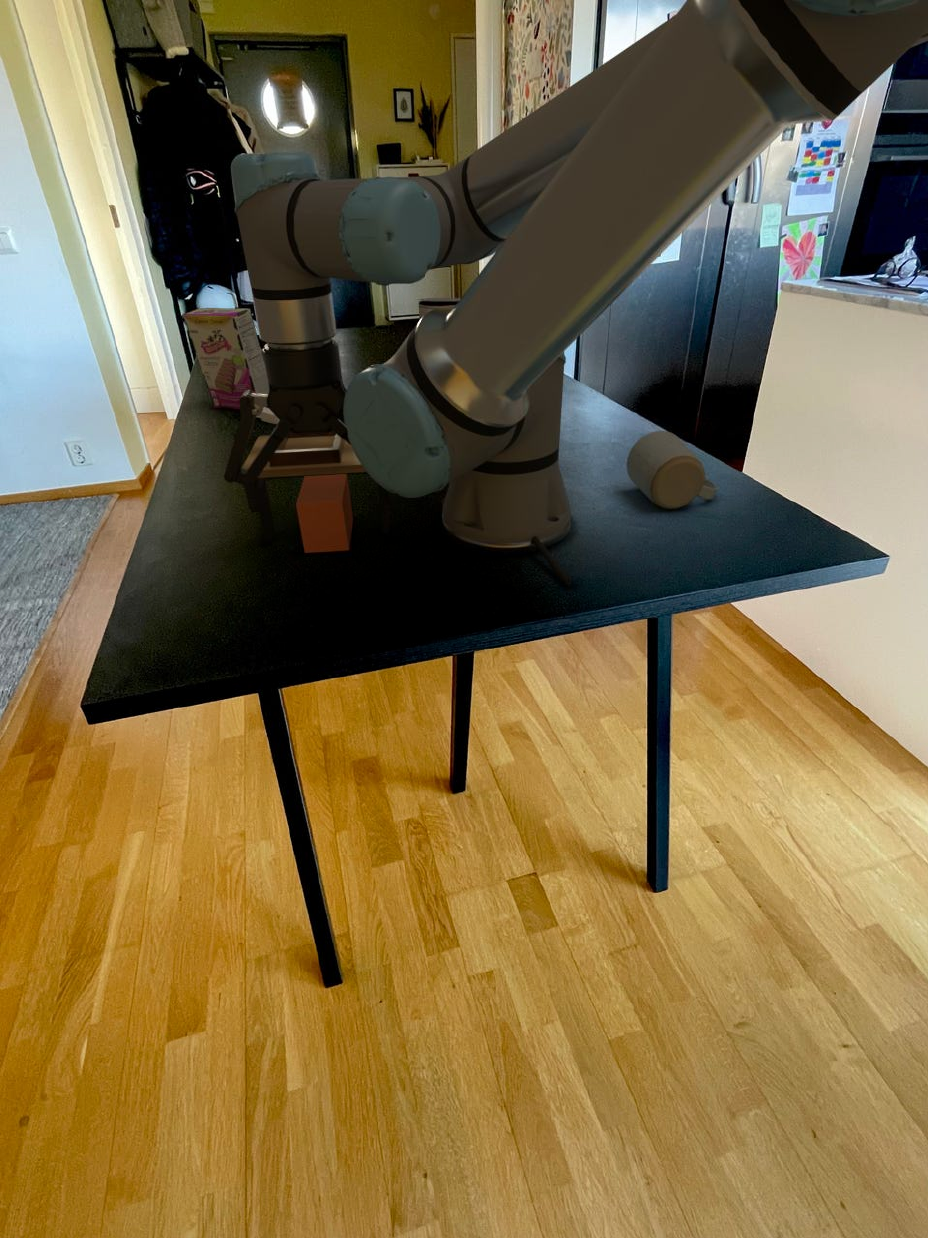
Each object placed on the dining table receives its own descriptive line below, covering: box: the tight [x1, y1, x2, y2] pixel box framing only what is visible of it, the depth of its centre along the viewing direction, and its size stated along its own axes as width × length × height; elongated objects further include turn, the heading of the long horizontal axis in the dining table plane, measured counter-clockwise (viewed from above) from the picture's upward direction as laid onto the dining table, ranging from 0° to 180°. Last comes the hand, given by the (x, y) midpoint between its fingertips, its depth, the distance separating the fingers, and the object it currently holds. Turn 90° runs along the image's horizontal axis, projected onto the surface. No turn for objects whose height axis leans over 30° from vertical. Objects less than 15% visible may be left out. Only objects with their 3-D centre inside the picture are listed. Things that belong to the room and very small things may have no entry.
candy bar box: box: [182, 307, 269, 411], centre depth 117 cm, size 11×5×16 cm, turn 67°
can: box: [417, 297, 462, 321], centre depth 151 cm, size 11×11×12 cm
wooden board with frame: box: [241, 430, 367, 479], centre depth 99 cm, size 15×18×3 cm
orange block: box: [295, 473, 354, 554], centre depth 77 cm, size 8×5×6 cm, turn 5°
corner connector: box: [256, 407, 280, 425], centre depth 118 cm, size 8×8×2 cm
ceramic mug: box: [626, 430, 719, 510], centre depth 82 cm, size 11×8×8 cm
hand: (328, 532), depth 78 cm, fingers open, 13 cm apart
